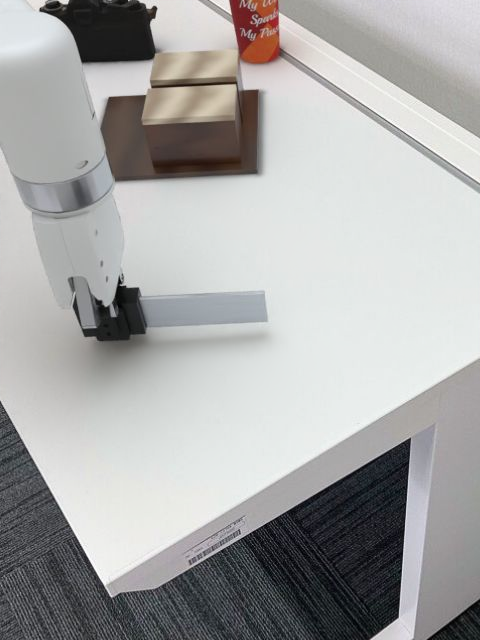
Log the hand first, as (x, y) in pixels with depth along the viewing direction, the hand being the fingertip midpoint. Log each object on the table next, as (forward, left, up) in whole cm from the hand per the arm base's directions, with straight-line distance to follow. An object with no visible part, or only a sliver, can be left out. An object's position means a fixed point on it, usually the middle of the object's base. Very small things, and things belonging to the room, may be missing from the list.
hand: (116, 326), depth 76 cm
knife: (+6, 0, 0) cm, 6 cm away
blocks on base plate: (+3, +37, -2) cm, 37 cm away
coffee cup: (+13, +58, -3) cm, 59 cm away
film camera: (-11, +62, -3) cm, 63 cm away
